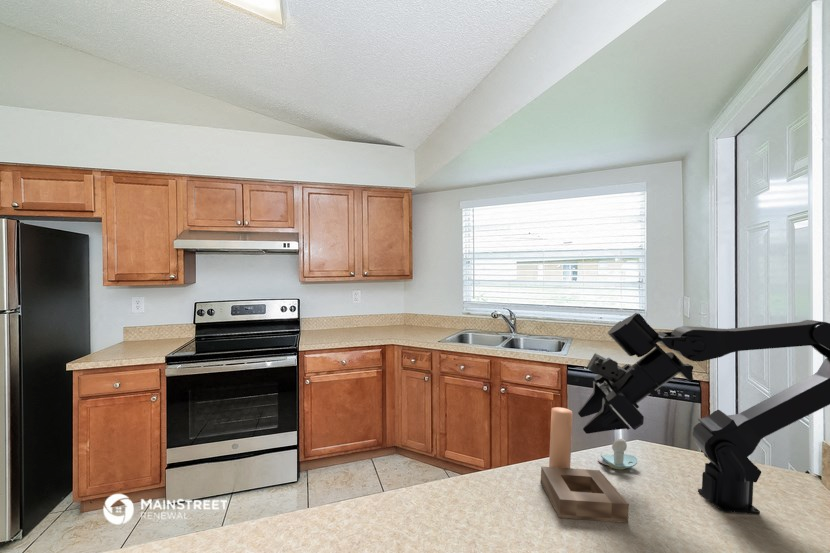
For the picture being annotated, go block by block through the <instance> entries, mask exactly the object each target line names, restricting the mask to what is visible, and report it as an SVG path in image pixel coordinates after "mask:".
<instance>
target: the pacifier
mask: <svg viewBox="0 0 830 553" xmlns="http://www.w3.org/2000/svg"><path fill="white" fill-rule="evenodd" d="M611 448H612V451H613V454H600V456H599V457H598V458H597V461H598V463H601V464H602V465H605V466H608V467H609V468H611V469H615V470H626V469H627V468H628V469H629V468H634V467H636V465H637V463H638V458H637V457H636V456H635V455H632V454H626V453H625V451H626V450H627V442H626V440H625V439H623V438H618V439H616V440H615V441H613V443H612V445H611Z"/></svg>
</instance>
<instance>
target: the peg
mask: <svg viewBox="0 0 830 553" xmlns="http://www.w3.org/2000/svg"><path fill="white" fill-rule="evenodd" d="M550 413H551V414H550V415H551V416H550V417H551V418H550V436H549V441H550V442H549V460H548V461H549V463H548V467H557V468H571V459H572V458H571V456H572V438H573V437H572V435H573V434H572V433H573V432H572V431H573V411H572V409H571V410H570V409H568V408H566V407H560V406H559V407H558V406H556V407H552V408H551V412H550Z"/></svg>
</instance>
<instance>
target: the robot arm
mask: <svg viewBox="0 0 830 553" xmlns="http://www.w3.org/2000/svg"><path fill="white" fill-rule="evenodd" d="M607 335H608V336H610V338H611V339H612V340H614V342H615V343H616V344H617V345H618V346H619V347H620V348H621V349H622V350H623V351H624V352H625V353H626V355H628V356H629V357H633V356H636V357H637V358H640V359H639V360H637V361H636V362H635V363H633V364H632V365H631V364H630V363H628V364H627V363H626V364H624V365H623V366H620V365H618V361H616V360H613V359H612V358H611V357H607V358H606V357H603V356H601V355H600V354H598V353H596V352H595V353H594V354H593V356H592V357H591V359H590V360H589V362H588V364H587V366H586V367H587V368H588V370H589V371H590V372H591V373H594V374H595V375H596V376H594V378H593V379H594V380H593V381H592V385H593V386H592V387H593V388H592V389H593V390H592V393H591V394H590V396H589V397H588V398H587V399H586V401H585V403H584V404H583V405H582V407H581V408H580V409H579V410H578V412H577V415H579V417H580V418H585V417H589V416H591V415H594V416H593V417H592V418H591V419H590V420H589V421H588V422H587V423H586V424H585V425H584V426H583V428H582V431H583V432H585V434H587V435H588V434H595V433H596V434H597V433H601V432H608V431H609V432H610V431H616V430H617V431H618V430H625V429H626V430H627V431H629V430H631V428H632V430H633V431H635V430H637V429H638V428H640V427H641V426H643V425H644V419H645V417H644V415H643V414H642V412H641V411H640V410H639V409H638V408H640V406H639V403H640V402H642V401H643V400H644V399H646V398H647V397H649V396H650V395H651V396H652V397H653V398H654V397H655V396H657V395H659V393H658V392H657V390H658V389H659V388H661V387H663V385H665V384H666V383H668V382H670V381H671V380H672V379H674V378H675V377H676V376H677V375H680V376H682V377H683V378H685V379H686V380H688V381H689V382H693V380H694V377H693V376H694V373H693V371H694V366H693V365H691V364H689V363H684V362H683V361H682V360H681V359H680V358H679V357H678V356H677V355H676V354H678V355H679V356H681V357H683V358H685V359H687V360H689V361H692V362H705V361H710V360H713V359H718V358H722V357H724V356H727V355H729V354H731V353H736V352H742V351H754V350H767V349H769V350H770V349H771V350H772V349H781V348H793V347H795V348H796V347H807V346H810V347H812V348H813V349H814V350H815V351H816V352H818V353H819V354H820V355H822V356H823V357H825V359H824V360H823V361H822V363H821V365H820V366H819V368H818V370H817V371H816V372H815V373H814V374H812V375H810V376H808V377H806V378H804V379H802V380H801V381H799V382H797V383H795V384H793V385H791V386H789V387H787V388H785V389H783V390H782V391H779V392H778V393H776V394H773V395H772V396H771V397H768V398H767V399H764V400H762V401H760V402H759V403H757V404H754V405H752V406H751V407H749V408H747V409H745V410H743V411H741V412H740V413H736V414H729V415H727V414H726V413H725V412H723V411H722V410H720V409H717V410H714V411H713V412H712V413H711V414H709V415H707V416H705V417H703V418H702V417H700V418H698V419H697V421H699V422H698V423H696V424H695V425H694V427H693V428H692V433H691V434H692V439H693V442H694V444H696V446H697V447H698V448H699V449H700V450H701V451H702V453H703V455H704V457H705V458H706V459H708V460H709V462H707V463H706V462H705V463H704V472H702V475H701V476H702V480H701V488H697V493H698V494H700V495H701V496H702V497H703V498H705V499H706V500H707V501H708V502H709V503H711V504H712V505H713V506H715V507H716V508H717V509H718V510H719V511H721V512H724V513H736V514H737V513H738V514H751V515H752V514H753V515H760V514H761V511H760V509H758V508H757V507H756V506H754V505H753V500H754V483H757V482H758V480H759V479H760V476H761V474H762V471H761V469H759V467H757V465H756V464H755V463H753V462H752V461H751V460H750V459H749V456H751V455H753V453H754V452H755V450H756V449H757V447H758V445H759V444H760V442H761V441H762V440H763V439H764V438H766V437H767V436H770V435H772V434H774V433H776V432H778V431H780V430H782V429H784V428H786V427H788V426H790V425H792V424H794V423H796V422H798V421H800V420H802V419H804V418H806V417H808V416H810V415H811V414H815V413H817V412H818V411H820V410H822V409H823V408H825V407H828V406H830V322H827V321H820V320H813V319H805V320H802V321H797V322H789V323H788V322H786V323H785V322H784V323H774V324H765V325H754V326H742V327H735V328H734V327H731V328H716V327H705V326H691V325H690V326H689V325H686V326H685V325H683V326H678V327H675V328H674V329H673V331H659V332H658V331H656V330H655V329H653V327H652V326H651V325H650V324H649V323H647V321H646V320H645V318H644V316H642V314H640V313H639V312H635V313H633V314H632V315H630V316H629V317H626V318H625V319H623V320H622V321H621V320H619V321H618V322H617V323H615V325H613V326H612V327H611V328H610V329H609V331H608V332H607ZM657 343H658V344H660V345H662V346H663V347H666V348H667V349H670V350H672V351H674V352H675V353H676V354H675V353H674V352H671V351H670V352H669V351H668V352H665V351H664V350H663V349H662V347H660V346H659V345H658V344H657Z"/></svg>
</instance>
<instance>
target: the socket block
mask: <svg viewBox="0 0 830 553" xmlns="http://www.w3.org/2000/svg"><path fill="white" fill-rule="evenodd" d="M540 484H541V486H542V487H543V490H544V491H545V493H546V495H547V497H548V498H549V501H550V503H551V505H552V507H553V508H554V510H555V512H556V514H557V516H558V518H561V519H574V520H575V519H576V520H586V521H587V520H589V521H603V522H616V523H629V507H630V504H629V502H628V501H627V500H626V499H625V498H624V497H623V496H622V494H620V492H619V491H618V490H617V488H615V486H614V485H613V484H612V483H611V482H610V481H609V479H608V478H607V477H606V475H604V474H603V472H602V471H601V470H600V469H587V468H586V469H585V468H573V467H572V468H571V467H570V468H557V467H549V466H540Z"/></svg>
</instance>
